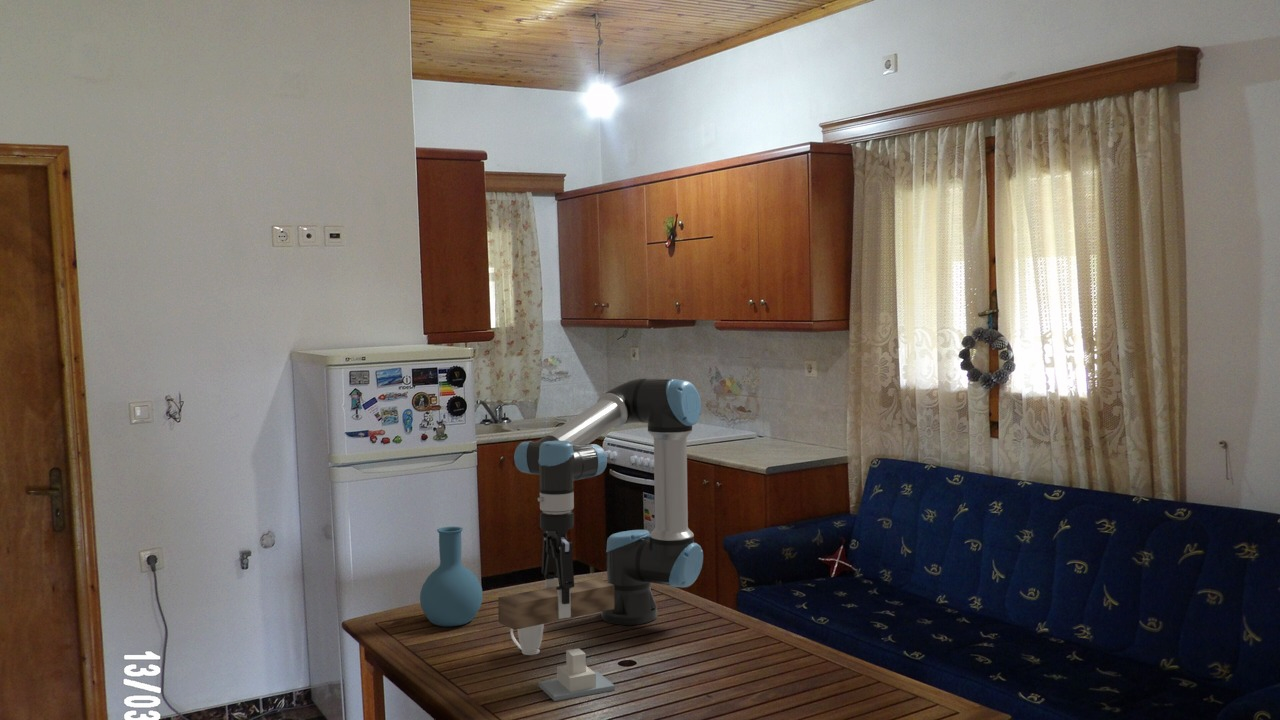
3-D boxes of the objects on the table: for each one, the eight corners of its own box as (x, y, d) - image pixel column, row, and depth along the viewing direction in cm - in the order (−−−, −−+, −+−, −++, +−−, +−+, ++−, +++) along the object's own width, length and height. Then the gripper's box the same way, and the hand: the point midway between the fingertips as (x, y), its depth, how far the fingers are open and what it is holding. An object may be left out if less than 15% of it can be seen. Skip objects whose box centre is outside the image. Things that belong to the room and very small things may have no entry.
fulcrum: (597, 675, 230) (596, 640, 230) (614, 689, 221) (614, 653, 221) (538, 685, 224) (538, 650, 224) (554, 701, 215) (553, 664, 215)
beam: (597, 602, 237) (596, 578, 236) (614, 608, 231) (614, 584, 231) (498, 622, 221) (498, 597, 221) (514, 629, 215) (514, 604, 215)
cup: (531, 659, 242) (530, 625, 241) (501, 651, 248) (500, 618, 247) (551, 650, 247) (550, 618, 247) (521, 643, 253) (520, 611, 253)
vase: (495, 617, 275) (493, 526, 274) (453, 634, 261) (451, 538, 260) (450, 608, 284) (448, 520, 283) (407, 624, 270) (405, 531, 269)
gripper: (526, 504, 233) (527, 602, 234) (555, 520, 214) (557, 627, 215) (557, 502, 236) (558, 599, 237) (589, 517, 217) (590, 622, 218)
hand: (557, 612), depth 226 cm, fingers closed on beam, 8 cm apart
